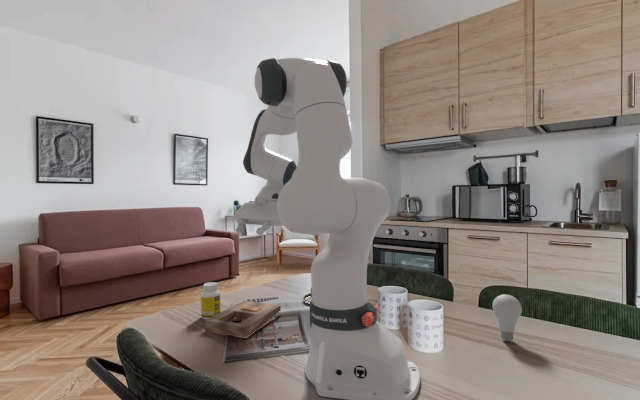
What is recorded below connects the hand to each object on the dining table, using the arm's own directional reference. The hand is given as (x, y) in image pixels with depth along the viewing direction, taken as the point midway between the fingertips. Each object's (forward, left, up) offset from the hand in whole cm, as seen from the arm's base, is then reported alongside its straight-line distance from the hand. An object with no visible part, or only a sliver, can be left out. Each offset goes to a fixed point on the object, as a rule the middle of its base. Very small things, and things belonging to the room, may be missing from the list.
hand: (248, 233), depth 109 cm
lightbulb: (-74, 0, -24) cm, 77 cm away
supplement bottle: (+4, +13, -24) cm, 27 cm away
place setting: (-22, -16, -24) cm, 36 cm away
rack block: (-8, +14, -23) cm, 28 cm away
